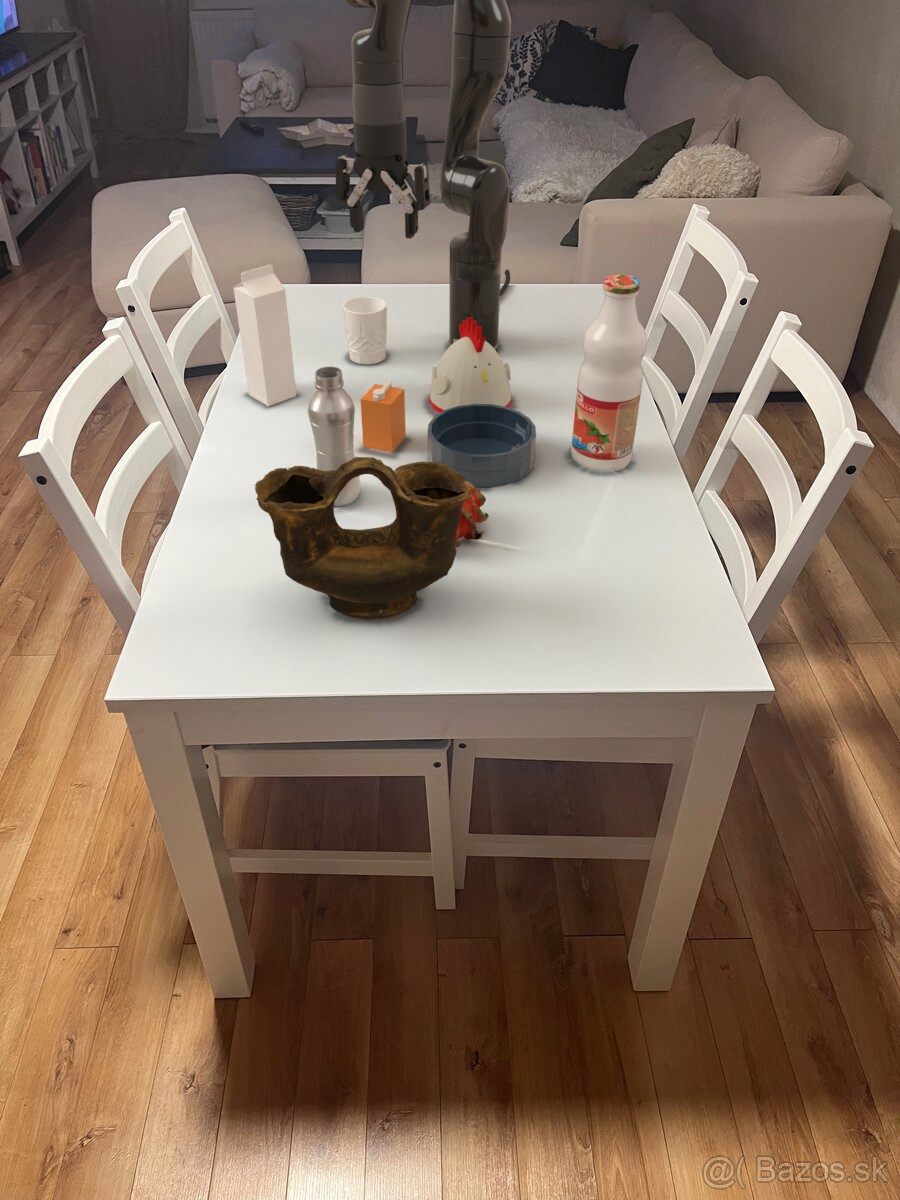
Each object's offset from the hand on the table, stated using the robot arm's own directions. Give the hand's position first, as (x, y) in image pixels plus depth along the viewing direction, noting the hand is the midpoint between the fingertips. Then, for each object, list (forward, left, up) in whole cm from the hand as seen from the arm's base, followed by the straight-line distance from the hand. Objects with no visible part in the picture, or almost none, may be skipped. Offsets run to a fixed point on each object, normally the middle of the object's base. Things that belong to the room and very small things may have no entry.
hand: (384, 233), depth 143 cm
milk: (+5, -20, -28) cm, 35 cm away
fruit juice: (+6, +38, -28) cm, 48 cm away
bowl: (+14, +21, -28) cm, 38 cm away
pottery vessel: (+50, +18, -28) cm, 60 cm away
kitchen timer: (-4, +13, -28) cm, 31 cm away
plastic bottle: (+31, +5, -28) cm, 42 cm away
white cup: (-15, -11, -28) cm, 34 cm away
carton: (+14, +5, -28) cm, 32 cm away
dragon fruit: (+34, +24, -28) cm, 50 cm away
